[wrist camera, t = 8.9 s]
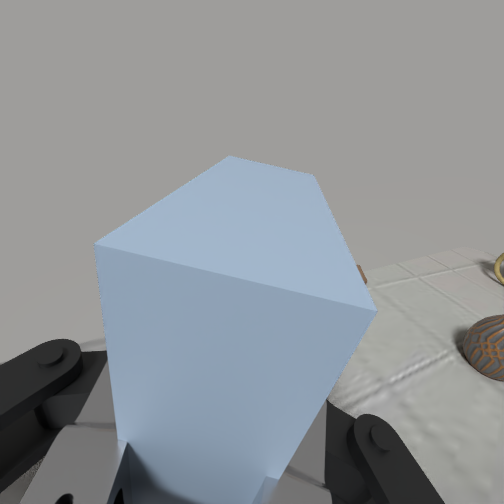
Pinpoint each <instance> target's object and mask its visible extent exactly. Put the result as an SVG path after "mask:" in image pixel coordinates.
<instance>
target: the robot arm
mask: <svg viewBox="0 0 504 504" xmlns="http://www.w3.org/2000/svg"><path fill="white" fill-rule="evenodd" d="M45 455H46V456H45ZM44 456H45V458H44V460H43V462H42V463H41V465H40V467H39V469H38V471H37V472H36V474H35V476H34V478H33V480H32V481H31V483H30V485H29V487H28V489H27V490H26V492H25V494H24V496H23V498H22V499H21V501H20V503H19V504H133V501H132V489H131V478H130V466H129V455H128V443H127V441H123V440H119V439H118V437H117V429H116V421H115V412H114V404H113V396H112V388H111V380H110V372H109V364H108V356H107V351H91V352H81V349H80V346H79V345H78V344H77V343H76V342H74V341H72V340H68V339H56V340H51V341H48V342H45V343H42V344H40V345H38V346H36V347H35V348H32V349H30V350H29V351H27V352H25V353H23V354H21V355H19V356H17V357H15V358H13V359H12V360H10V361H8V362H6V363H4V364H2V365H0V493H1V492H2V491H4V490H5V489H6V488H7V487H8V486H10V485H11V484H12V483H13V482H14V481H15V480H17V479H18V478H19V477H20V476H21V475H23V474H24V473H25V472H26V471H27V470H29V469H30V468H31V467H32V466H33V465H35V464H36V463H37V462H38V461H39V460H40V459H42V458H43V457H44ZM252 504H445V503H444V501H443V500H442V498H441V497H440V496H439V494H438V493H437V491H436V490H435V488H434V487H433V485H432V484H431V482H430V481H429V479H428V478H427V476H426V475H425V473H424V472H423V471H422V469H421V468H420V466H419V465H418V463H417V462H416V460H415V459H414V457H413V456H412V454H411V453H410V451H409V450H408V449H407V447H406V446H405V444H404V443H403V441H402V440H401V438H400V437H399V435H398V434H397V433H396V431H395V430H394V429H393V428H392V427H391V426H390V425H389V424H388V423H387V422H386V421H384V420H383V419H381V418H379V417H377V416H375V415H371V414H363V415H360V416H359V417H358V418H357V419H355V418H354V417H352V416H350V415H348V414H347V413H345V412H343V411H342V410H340V409H338V408H337V407H335V406H334V405H332V404H331V403H330V402H329V401H328V400H327V399H326V400H325V402H324V404H323V405H322V407H321V409H320V410H319V412H318V414H317V416H316V417H315V419H314V421H313V422H312V424H311V426H310V427H309V429H308V431H307V433H306V434H305V436H304V438H303V439H302V441H301V443H300V444H299V446H298V448H297V450H296V451H295V453H294V455H293V456H292V458H291V460H290V461H289V463H288V465H287V467H286V468H285V470H284V472H283V473H282V475H281V477H280V479H275V478H271V477H268V476H266V477H265V479H264V481H263V483H262V485H261V487H260V489H259V491H258V493H257V495H256V497H255V499H254V500H253V502H252Z"/></svg>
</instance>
